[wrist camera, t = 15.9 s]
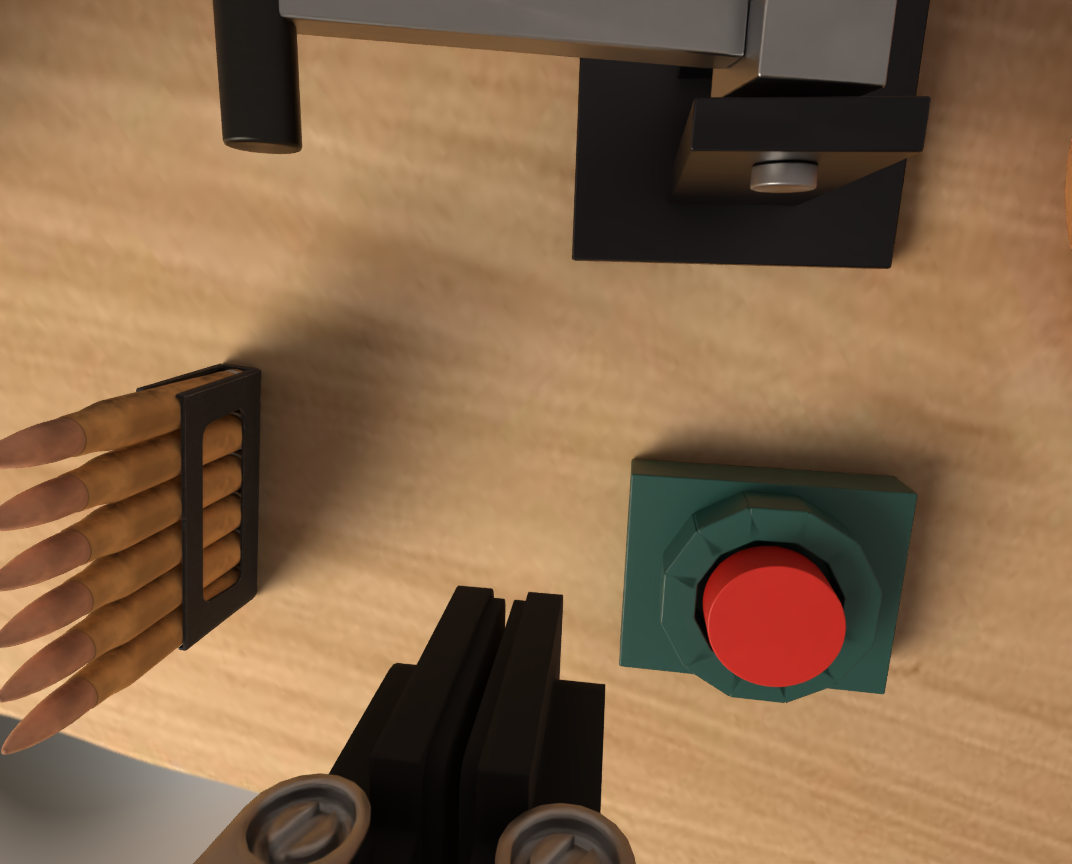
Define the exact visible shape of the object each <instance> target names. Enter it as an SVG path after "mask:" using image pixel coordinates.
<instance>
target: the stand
mask: <svg viewBox="0 0 1072 864" xmlns="http://www.w3.org/2000/svg"><path fill="white" fill-rule="evenodd" d="M929 2H930V0H897V5H896V13H895V20H894V27H893V35H892V42H891V50H890V57H889V64H888V72H887V79H886V85H885V86H884V87H883V88H881V89H878V90H875V91H873V92H870V93H868V94H865V95H863V96H858V97H711V91H712V79H713V68H701V67H688V66H676V65H664V64H652V63H640V62H628V61H616V60H604V59H592V58H580V69H579V95H578V120H577V145H576V170H575V196H574V221H573V246H572V259H573V260H576V261H605V262H642V263H679V264H716V265H753V266H790V267H827V268H863V269H889V268H891V265H892V258H893V251H894V244H895V237H896V230H897V223H898V216H899V209H900V202H901V196H902V189H903V182H904V175H905V168H906V161H907V158H908V157H910V156H913V155H915V154H917V153H920V152H922V150H923V147H924V141H925V134H926V127H927V121H928V114H929V107H930V100H931V99H930V97H929V96H916V92H917V85H918V78H919V71H920V64H921V57H922V50H923V44H924V37H925V30H926V23H927V16H928V9H929Z"/></svg>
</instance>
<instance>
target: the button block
mask: <svg viewBox="0 0 1072 864" xmlns="http://www.w3.org/2000/svg"><path fill="white" fill-rule="evenodd" d="M916 501H917V493H916V492H914V491H913V490H912V489H911V488H909V487H908V486H907V485H905V484H904V483H903V482H902V481H900V480H899V479H898V478H897V477H895V476H883V475H868V474H853V473H838V472H823V471H807V470H792V469H777V468H762V467H747V466H731V465H716V464H701V463H686V462H671V461H655V460H640V459H632V463H631V479H630V495H629V511H628V526H627V542H626V558H625V574H624V590H623V605H622V621H621V637H620V657H619V665H620V666H624V667H633V668H642V669H652V670H661V671H670V672H680V673H689V674H695V675H697V676H698V677H700V678H701V679H703V680H704V681H706V682H707V683H709V684H711V685H712V686H714V687H715V688H717V689H718V690H720V691H722V692H723V693H725V694H726V695H728V696H730V697H735V698H744V699H754V700H763V701H772V702H781V703H785V702H786V703H787V702H790V701H793V700H796V699H798V698H801V697H804V696H807V695H810V694H812V693H815V692H818V691H821V690H824V689H826V688H830V689H839V690H848V691H858V692H867V693H876V694H884V693H885V688H886V682H887V676H888V670H889V663H890V657H891V651H892V645H893V639H894V633H895V627H896V621H897V615H898V609H899V603H900V597H901V591H902V585H903V579H904V573H905V567H906V561H907V555H908V549H909V543H910V537H911V531H912V525H913V519H914V513H915V507H916ZM756 546H778V547H784V548H787V549H791V550H793V551H796V552H798V553H800V554H802V555H804V556H805V557H807V558H808V559H810V560H811V561H812V562H813V563H814V564H815V565H816V566H817V567H818V568H819V569H820V570H821V571H822V573H823V574H824V576H825V577H826V579H827V581H828V582H829V584H830V586H831V587H832V589H833V590H834V592H835V594H836V595H837V597H838V599H839V600H840V602H841V605H842V607H843V610H844V614H845V618H846V634H845V638H844V642H843V645H842V648H841V650H840V652H839V654H838V655H837V657H836V658H835V660H834V661H833V662H832V664H831V665H830V666H829V667H828V668H827V669H826V670H824V671H823V672H822V673H820V674H819V675H817V676H816V677H814V678H812V679H810V680H808V681H805V682H803V683H800V684H796V685H791V686H784V687H769V686H763V685H758V684H755V683H751V682H749V681H746V680H744V679H742V678H740V677H739V676H737V675H735V674H734V673H732V672H731V671H730V670H729V669H727V668H726V667H725V666H724V665H723V664H722V663H721V661H720V660H719V659H718V658H717V656H716V654H715V653H714V651H713V649H712V646H711V644H710V641H709V637H708V632H707V627H706V622H705V617H704V611H703V595H704V590H705V587H706V584H707V582H708V579H709V577H710V576H711V574H712V573H713V571H714V570H715V569H716V568H717V567H718V565H719V564H721V563H722V562H723V561H724V560H725V559H727V558H728V557H730V556H731V555H733V554H735V553H737V552H739V551H741V550H744V549H747V548H751V547H756Z"/></svg>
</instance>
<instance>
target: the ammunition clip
mask: <svg viewBox="0 0 1072 864" xmlns="http://www.w3.org/2000/svg"><path fill="white" fill-rule="evenodd" d="M260 392H261V371H259V370H258V369H256V368H249V367H242V366H235V365H228V364H217V365H214V366H211V367H207V368H204V369H201V370H197V371H194V372H191V373H187V374H184V375H180V376H177V377H174V378H170V379H167V380H164V381H160V382H157V383H154V384H150V385H147V386H143V387H140V388H137V389H136V392H135V393H131V394H127V395H122V396H118V397H114V398H110V399H106V400H102V401H99V402H96V403H94V404H92V405H90V406H88V407H86V408H84V409H82V410H80V411H78V412H74V413H71V414H68V415H65V416H61V417H59V418H57V419H54V420H51V421H47V422H43V423H40V424H37V425H34V426H31V427H29V428H26V429H24V430H21V431H19V432H16V433H14V434H12V435H10V436H8V437H6V438H4V439H2V440H0V469H7V468H24V467H32V466H38V465H43V464H48V463H53V462H57V461H60V460H63V459H67V458H70V457H77V456H81V455H84V454H88V453H92V452H97V451H109V450H113V451H110V452H107V453H105V454H102V455H100V456H97V457H95V458H93V459H91V460H90V461H88V462H86V463H85V464H83V465H82V466H80V467H79V468H77V469H74V470H72V471H69V472H67V473H64V474H62V475H60V476H58V477H56V478H54V479H51V480H48V481H46V482H43V483H41V484H39V485H36V486H34V487H32V488H30V489H28V490H26V491H24V492H22V493H20V494H18V495H16V496H15V497H13V498H11V499H10V500H8V501H6V502H5V503H4V504H2V505H1V506H0V531H10V530H17V529H24V528H29V527H34V526H38V525H41V524H45V523H48V522H52V521H55V520H58V519H60V518H63V517H65V516H68V515H70V514H73V513H75V512H81V511H83V510H86V509H89V508H92V507H94V506H97V505H103V504H107V505H104V506H102V507H100V508H98V509H96V510H94V511H93V512H91V513H90V514H89V515H87V516H86V517H85V518H83V519H82V520H81V521H79V522H77V523H75V524H74V525H72V526H70V527H68V528H66V529H64V530H62V531H61V532H60V533H58V534H55V535H53V536H51V537H49V538H47V539H45V540H43V541H41V542H39V543H37V544H35V545H34V546H32V547H30V548H29V549H27V550H25V551H24V552H22V553H21V554H19V555H18V556H16V557H15V558H14V559H12V560H11V561H10V562H9V563H7V564H6V565H5V566H4V567H3V568H1V569H0V591H8V590H15V589H19V588H23V587H28V586H31V585H35V584H38V583H41V582H43V581H46V580H49V579H51V578H54V577H56V576H59V575H61V574H64V573H66V572H68V571H70V570H72V569H74V568H76V567H78V566H81V565H84V564H86V563H88V562H91V561H93V560H94V561H93V562H92V563H91V564H90V565H88V566H87V567H86V568H85V569H84V570H83V571H81V572H80V573H78V574H76V575H75V576H73V577H71V578H70V579H68V580H66V581H65V582H64V583H63V584H61V585H60V586H58V587H56V588H54V589H52V590H51V591H49V592H47V593H45V594H44V595H42V596H41V597H39V598H38V599H36V600H35V601H33V602H32V603H31V604H29V605H28V606H26V607H25V608H24V609H23V610H21V611H20V612H19V613H18V614H17V615H15V616H14V617H13V618H12V619H11V620H10V621H9V622H8V623H7V624H6V625H5V626H4V627H3V628H2V629H1V630H0V648H5V647H11V646H16V645H19V644H22V643H26V642H29V641H32V640H34V639H37V638H40V637H42V636H45V635H47V634H50V633H52V632H54V631H56V630H58V629H60V628H62V627H64V626H66V625H68V624H70V623H72V622H74V621H75V620H77V619H79V618H80V617H82V616H84V615H86V614H89V613H90V614H89V615H88V616H87V617H86V618H85V619H83V620H82V621H81V622H79V623H78V624H76V625H75V626H73V627H72V628H70V629H69V630H68V631H66V633H65V634H63V635H62V636H60V637H59V638H57V639H55V640H54V641H52V642H51V643H49V644H48V645H47V646H45V647H44V648H43V649H41V650H40V651H39V652H38V653H36V654H35V655H34V656H33V657H31V658H30V659H29V660H28V661H27V662H26V663H24V664H23V665H22V666H21V667H20V668H19V669H18V670H17V671H16V672H15V673H14V674H13V675H12V677H11V678H10V679H9V680H8V681H7V682H6V683H5V685H4V686H3V687H2V689H1V690H0V702H8V701H13V700H17V699H20V698H23V697H25V696H28V695H30V694H33V693H35V692H38V691H40V690H42V689H45V688H47V687H49V686H51V685H53V684H55V683H56V682H58V681H60V680H62V679H64V678H65V677H67V676H69V675H71V674H72V673H74V672H75V671H77V670H78V669H80V668H81V667H82V666H84V665H85V664H87V663H88V664H87V665H86V666H85V667H83V668H82V669H81V670H79V671H78V672H77V673H76V674H74V675H73V676H72V677H71V678H69V679H68V680H67V681H66V682H65V683H64V684H63V685H61V686H60V687H59V688H57V689H56V690H55V691H53V692H52V693H51V694H49V695H48V696H47V697H46V698H45V699H44V700H42V701H41V702H40V703H39V704H38V705H37V706H36V707H35V708H34V709H33V710H32V711H31V712H29V713H28V715H27V716H26V717H25V718H24V719H23V720H22V721H21V722H20V723H19V724H18V725H17V726H16V728H15V729H14V730H13V731H12V732H11V734H10V735H9V737H8V738H7V739H6V741H5V743H4V745H3V747H2V749H1V752H2V754H11V753H15V752H18V751H21V750H23V749H26V748H29V747H31V746H33V745H35V744H37V743H39V742H41V741H43V740H45V739H47V738H49V737H51V736H52V735H54V734H56V733H58V732H59V731H61V730H62V729H64V728H65V727H67V726H68V725H70V724H71V723H73V722H74V721H76V720H77V719H78V718H80V717H81V716H82V715H84V714H85V713H86V712H87V711H89V710H90V709H92V708H94V707H96V706H97V705H98V704H100V703H101V702H102V701H104V700H105V699H107V698H108V697H109V696H111V695H113V694H115V693H117V692H119V691H121V690H122V689H124V688H126V687H128V686H130V685H131V684H132V683H134V682H135V681H136V680H138V679H139V678H140V677H141V676H143V675H144V674H145V673H146V672H148V671H149V670H150V669H151V668H153V667H154V666H155V665H156V664H158V663H159V662H160V661H161V660H162V659H164V658H165V657H166V656H167V655H169V654H170V653H171V652H172V651H174V650H175V649H176V648H177V647H178V649H179V650H183V651H185V650H187V649H189V648H190V647H191V646H192V645H194V644H195V643H196V642H198V641H199V640H200V639H201V638H203V637H204V636H205V635H206V634H208V633H209V632H210V631H212V630H213V629H214V628H215V627H217V626H218V625H219V624H220V623H222V622H223V621H224V620H225V619H227V618H228V617H229V616H231V615H232V614H233V613H235V612H236V611H237V610H239V609H240V608H241V607H243V606H244V605H245V604H247V603H248V602H249V601H250V600H252V599H253V598H254V597H255V595H256V593H257V549H258V497H259V444H260ZM108 503H109V504H108ZM95 559H96V560H95ZM182 643H183V644H182ZM181 644H182V645H181ZM180 645H181V646H180ZM179 646H180V647H179Z"/></svg>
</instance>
